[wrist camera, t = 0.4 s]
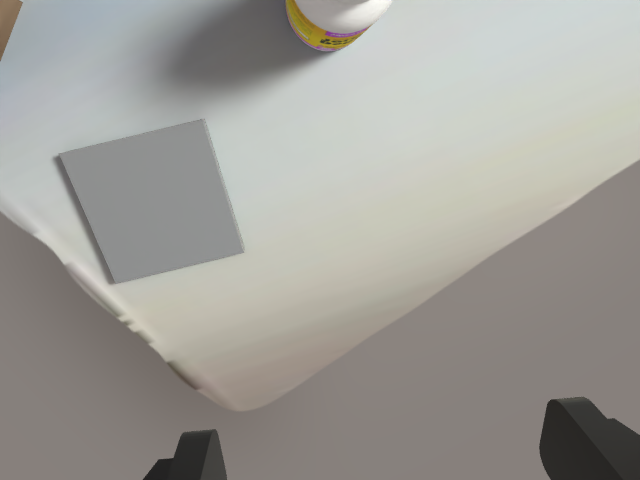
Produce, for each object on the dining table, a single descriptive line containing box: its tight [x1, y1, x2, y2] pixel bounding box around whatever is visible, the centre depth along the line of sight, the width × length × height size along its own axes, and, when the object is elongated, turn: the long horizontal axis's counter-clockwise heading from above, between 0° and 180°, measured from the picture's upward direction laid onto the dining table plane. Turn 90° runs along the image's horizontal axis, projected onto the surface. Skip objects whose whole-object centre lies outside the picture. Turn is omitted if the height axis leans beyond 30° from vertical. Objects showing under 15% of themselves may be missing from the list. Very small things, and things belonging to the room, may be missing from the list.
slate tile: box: [59, 119, 245, 284], centre depth 35 cm, size 12×12×1 cm
